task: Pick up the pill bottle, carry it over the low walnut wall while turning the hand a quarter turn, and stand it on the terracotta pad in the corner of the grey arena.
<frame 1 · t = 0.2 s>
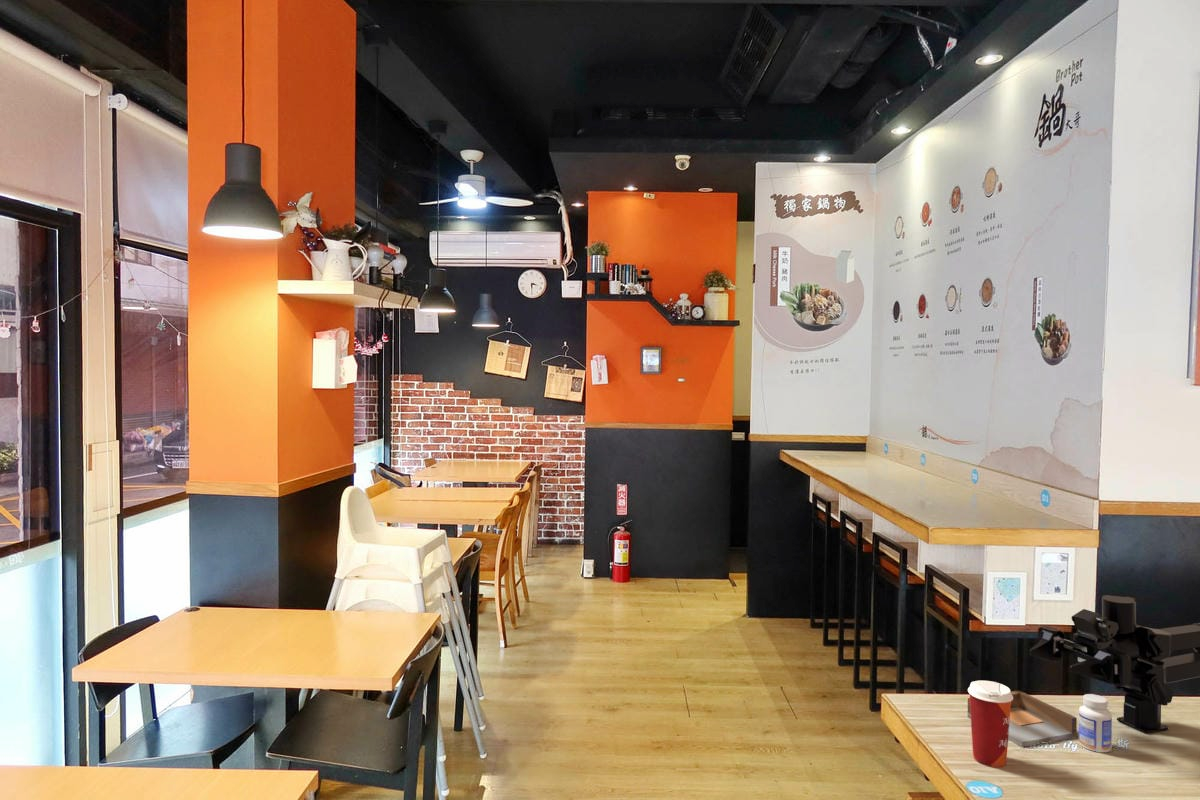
hand: (1049, 660, 148), 17 cm above the table, tool horizontal, fingers open, 9 cm apart
corner arena: (1020, 726, 155), on the table
pill bottle: (1094, 747, 147), on the table
paper cup: (989, 760, 142), on the table
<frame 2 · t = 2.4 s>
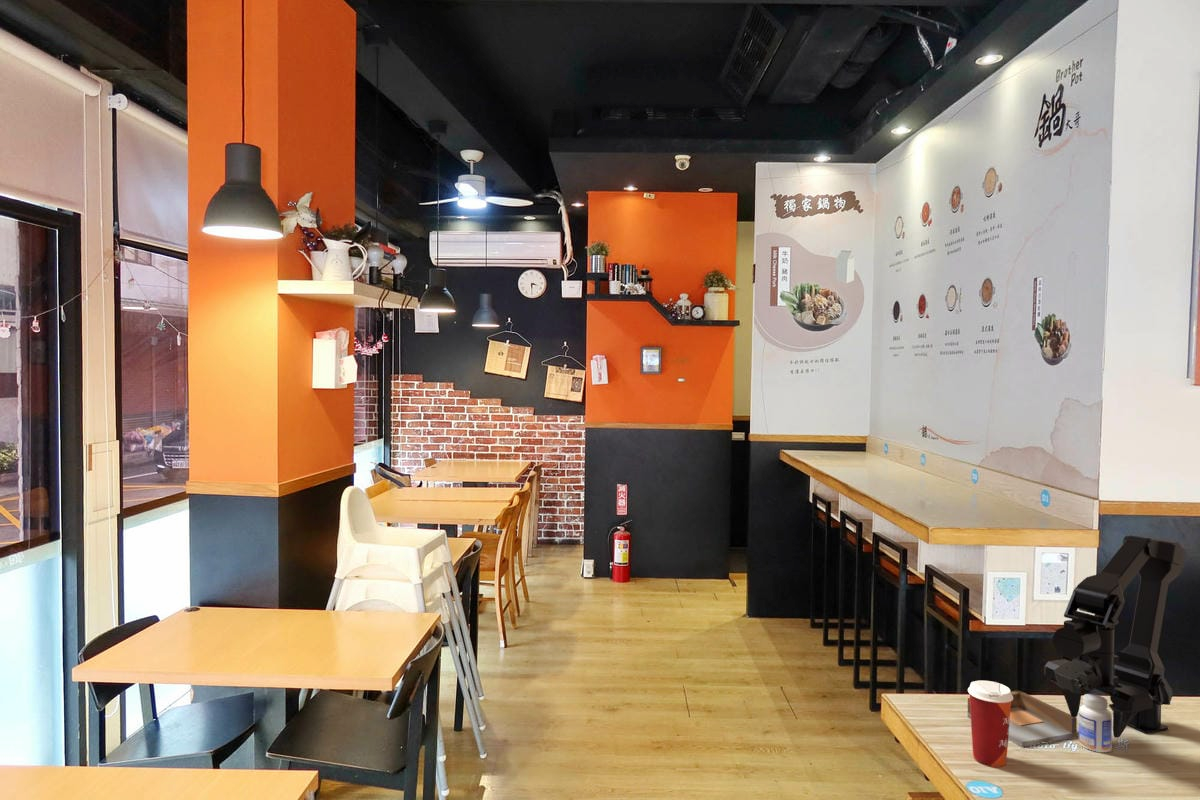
hand: (1094, 726, 147), 4 cm above the table, tool pointing down, fingers open, 9 cm apart
nothing on the table moved.
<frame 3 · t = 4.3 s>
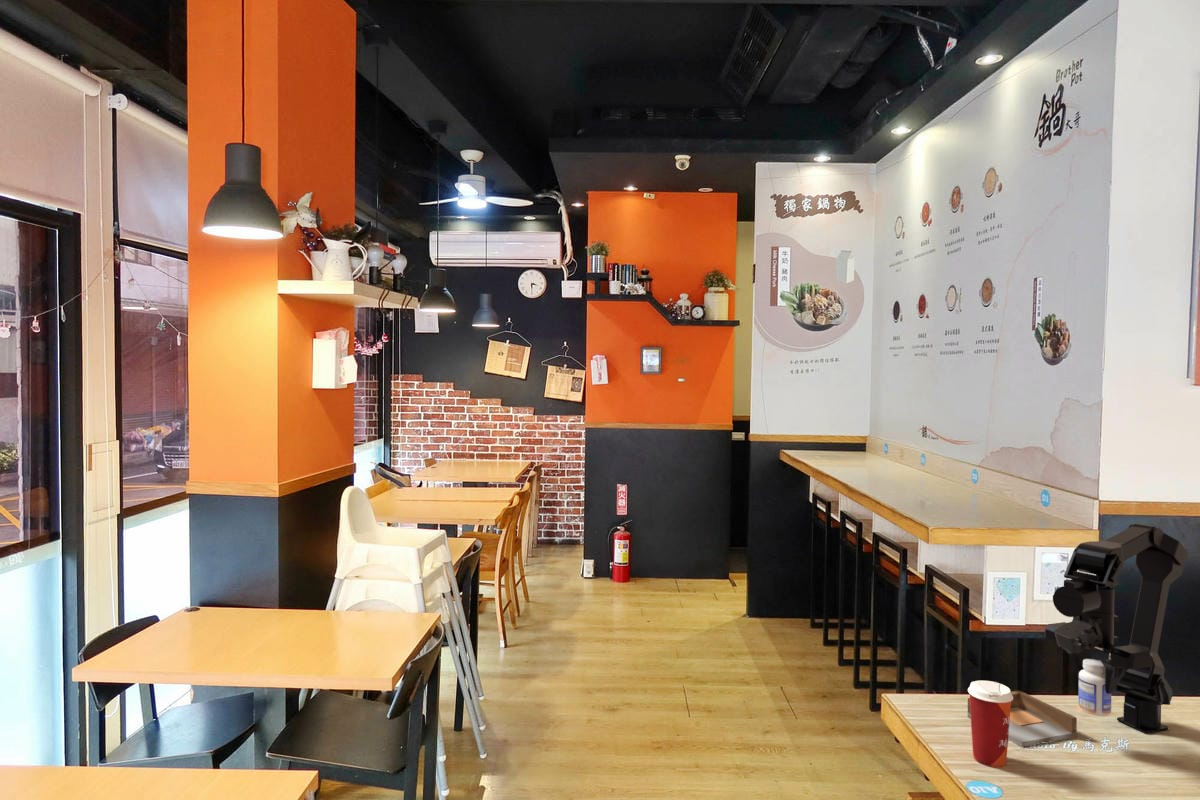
hand: (1095, 687, 146), 12 cm above the table, tool pointing down, fingers closed on pill bottle, 5 cm apart
pill bottle: (1094, 711, 146), point 7 cm above the table, touching gripper
everything else where it was.
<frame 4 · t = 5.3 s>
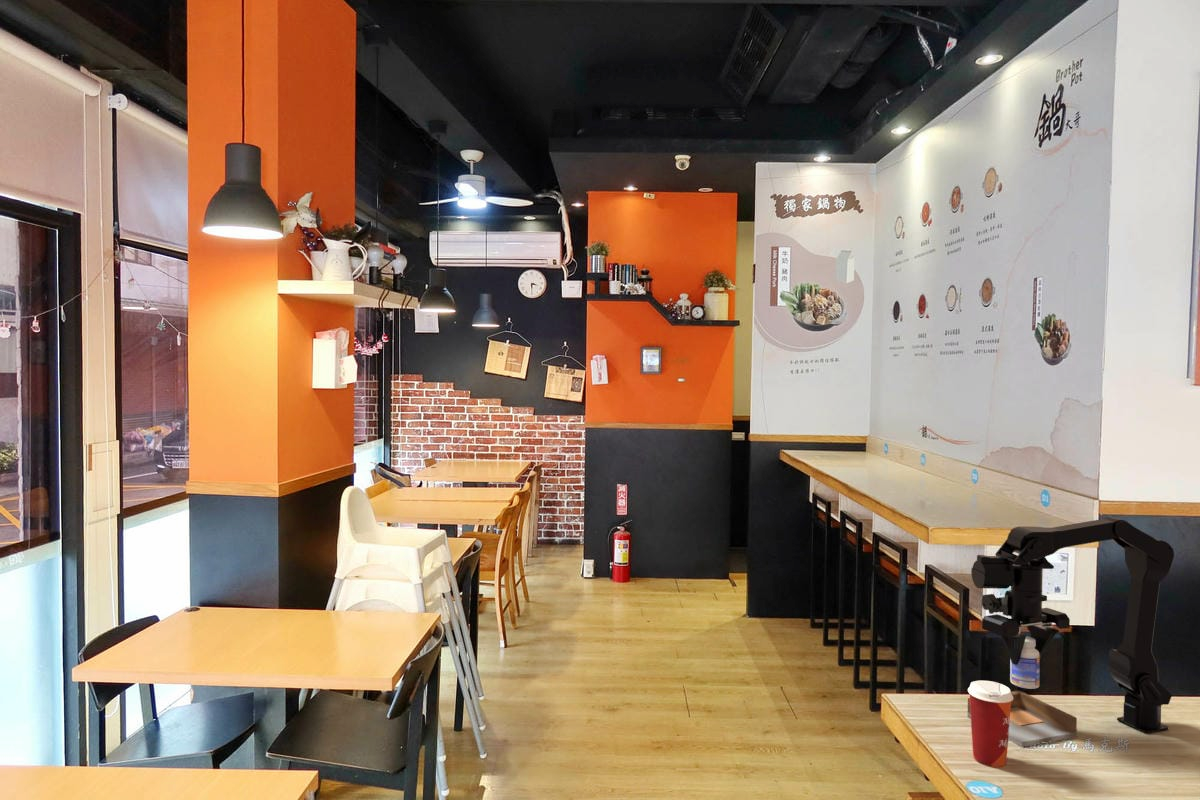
hand: (1024, 662, 156), 13 cm above the table, tool pointing down, fingers closed on pill bottle, 5 cm apart
pill bottle: (1024, 685, 156), point 8 cm above the table, touching gripper
everything else where it was.
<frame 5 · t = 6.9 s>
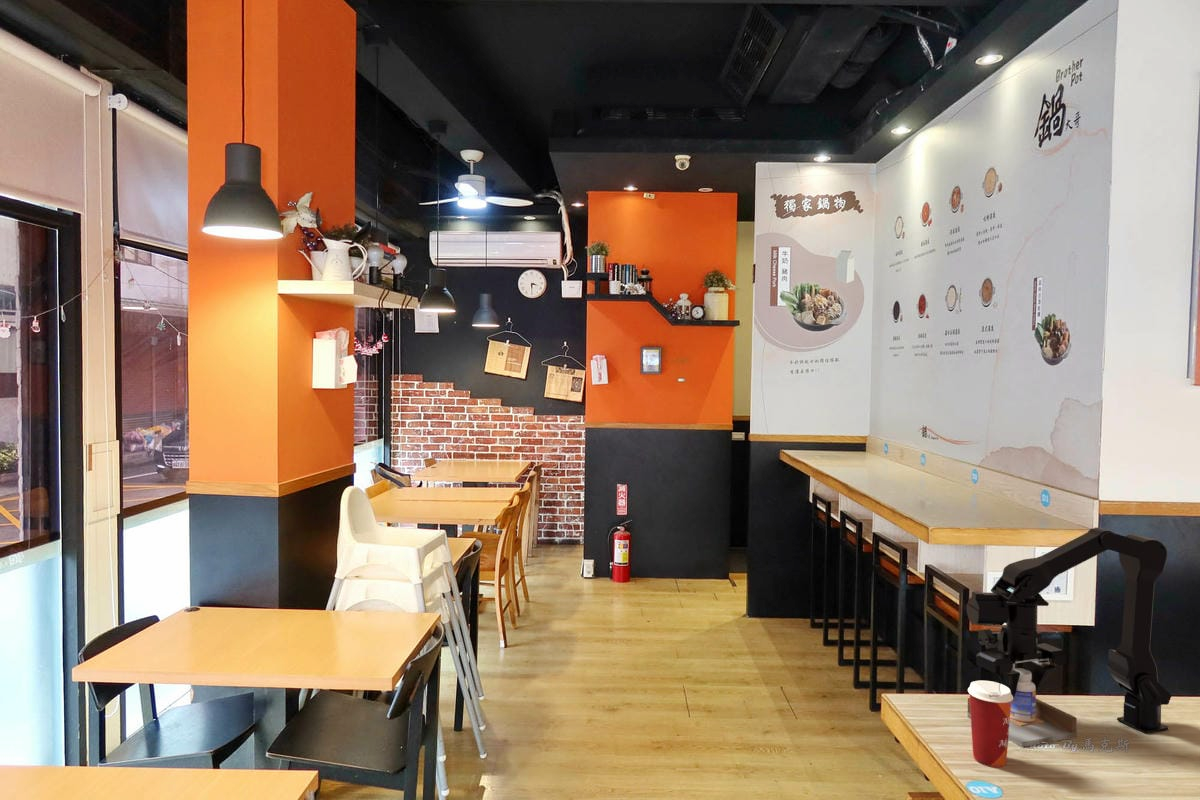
hand: (1021, 698, 157), 5 cm above the table, tool pointing down, fingers closed on pill bottle, 5 cm apart
pill bottle: (1020, 717, 157), point 1 cm above the table, touching corner arena, gripper
everything else where it was.
when the fingers open (5 cm above the table, at t = 7.3 s): pill bottle stays where it is, resting on corner arena.
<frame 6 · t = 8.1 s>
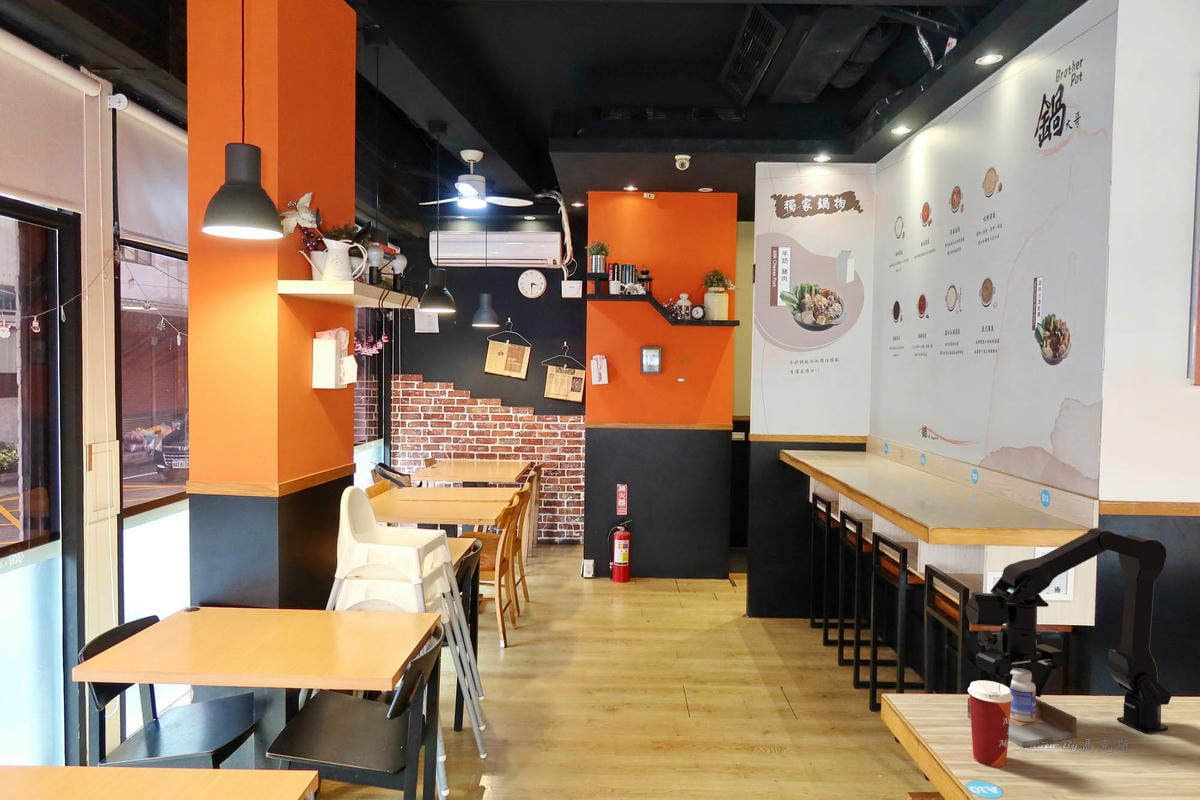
hand: (1020, 699, 157), 5 cm above the table, tool pointing down, fingers open, 9 cm apart
pill bottle: (1020, 717, 157), point 1 cm above the table, touching corner arena
everything else where it was.
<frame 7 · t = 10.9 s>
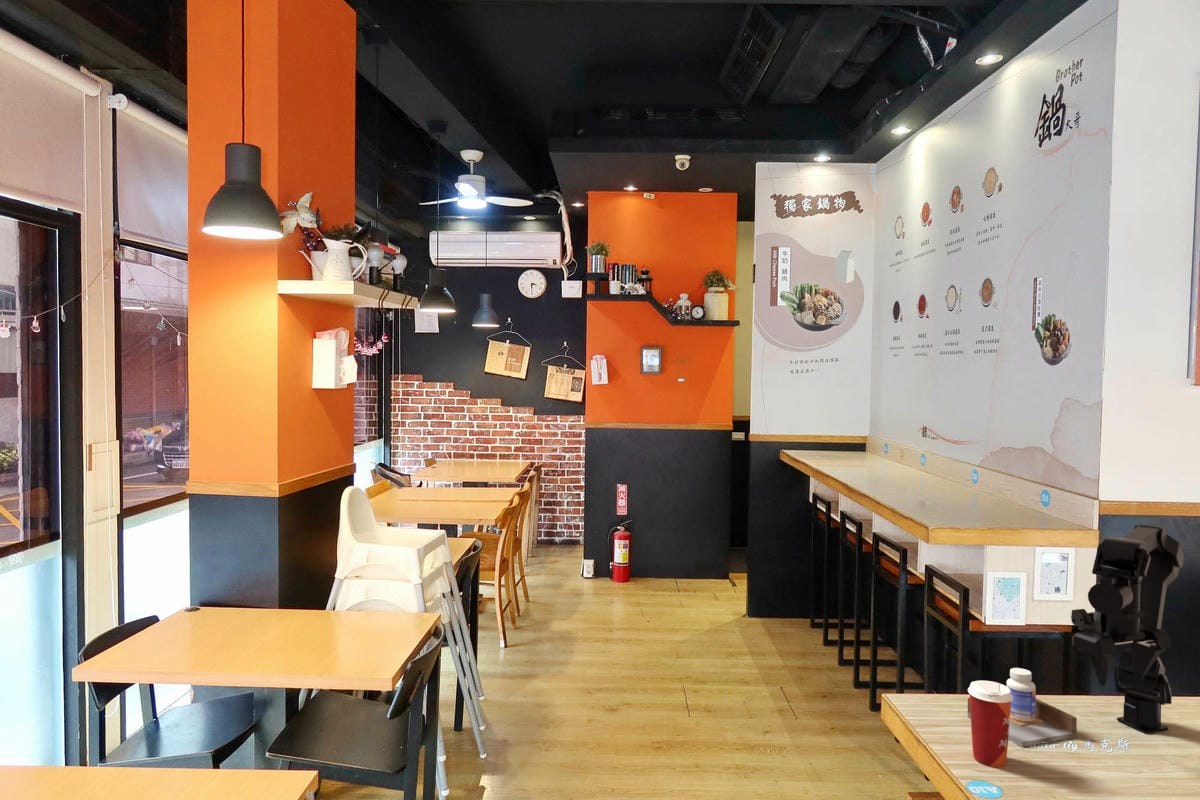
hand: (1120, 682, 146), 13 cm above the table, tool pointing down, fingers open, 9 cm apart
nothing on the table moved.
at the end: pill bottle 0.2 cm from the target spot on the corner arena, point 1.0 cm above the corner arena's base; pill bottle tilted 0°; the gripper is holding nothing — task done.
